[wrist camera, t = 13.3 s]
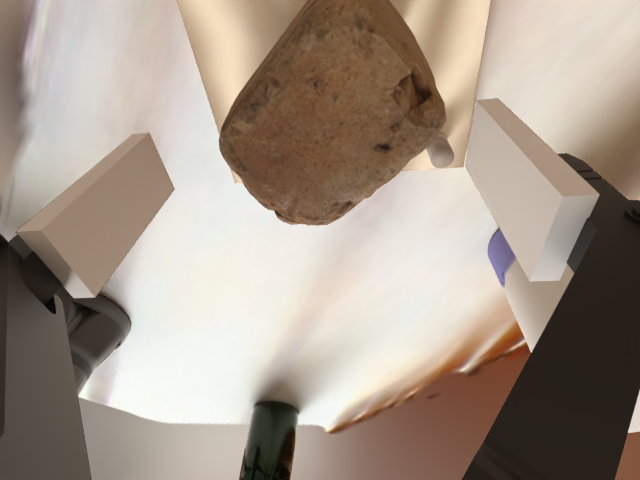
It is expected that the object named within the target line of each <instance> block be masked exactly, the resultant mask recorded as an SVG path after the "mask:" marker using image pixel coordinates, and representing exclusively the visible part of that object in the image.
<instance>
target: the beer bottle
mask: <svg viewBox="0 0 640 480" xmlns="http://www.w3.org/2000/svg"><path fill="white" fill-rule="evenodd" d="M297 426H298V413H297V411H296V410H295V409H294V408H292V407H291V406H289V405H286V404H283V403H278V402H264V403H261V404H258V405H257V406H255V408H254V409H253V412H252V416H251V420H250V425H249V431H248V435H247V440H246V446H245V450H244V456H243V460H242V466H241V471H240V477H239V480H290V479H291V471H292V464H293V457H294V449H295V441H296V434H297Z"/></svg>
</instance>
